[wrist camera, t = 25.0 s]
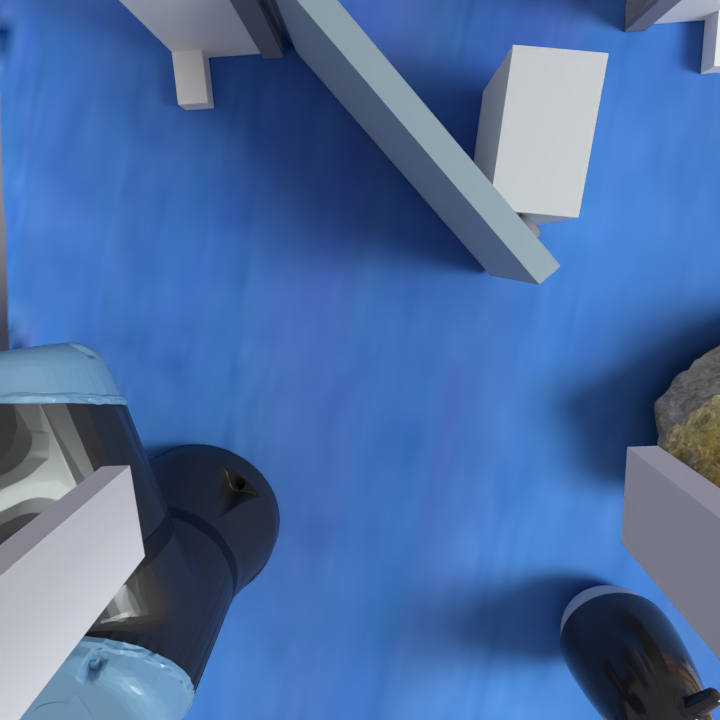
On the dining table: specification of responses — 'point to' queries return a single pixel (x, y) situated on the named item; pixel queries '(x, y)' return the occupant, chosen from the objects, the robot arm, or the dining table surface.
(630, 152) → the dining table surface
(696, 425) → the rock
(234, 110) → the dining table surface
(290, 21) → the door
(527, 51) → the white rectangular block
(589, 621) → the dark grey rounded lump
